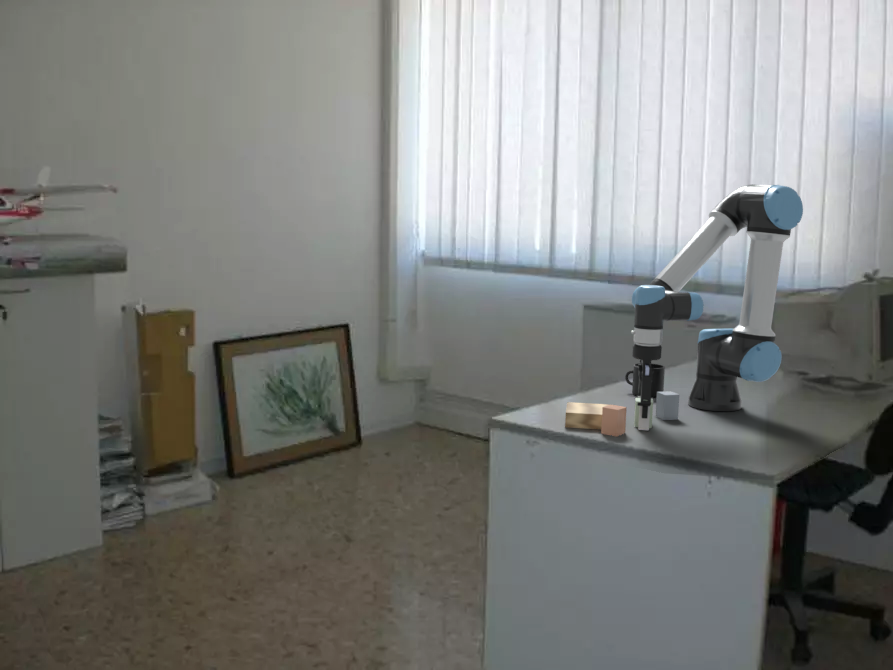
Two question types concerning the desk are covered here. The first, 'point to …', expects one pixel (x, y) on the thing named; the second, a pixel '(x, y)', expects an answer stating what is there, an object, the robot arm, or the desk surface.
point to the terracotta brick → (613, 420)
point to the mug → (657, 380)
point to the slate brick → (667, 405)
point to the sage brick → (636, 415)
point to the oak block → (584, 415)
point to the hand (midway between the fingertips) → (642, 424)
